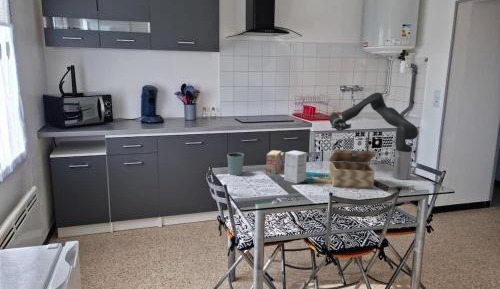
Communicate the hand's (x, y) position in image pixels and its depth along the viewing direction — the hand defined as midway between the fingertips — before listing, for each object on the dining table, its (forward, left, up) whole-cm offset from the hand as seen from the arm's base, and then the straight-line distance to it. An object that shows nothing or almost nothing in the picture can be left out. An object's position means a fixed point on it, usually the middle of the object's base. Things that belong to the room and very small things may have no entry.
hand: (343, 128), depth 234 cm
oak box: (-2, +19, -29) cm, 35 cm away
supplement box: (+30, +19, -29) cm, 46 cm away
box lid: (-2, +19, -15) cm, 25 cm away
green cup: (+66, +11, -29) cm, 73 cm away
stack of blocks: (+41, -2, -29) cm, 51 cm away
